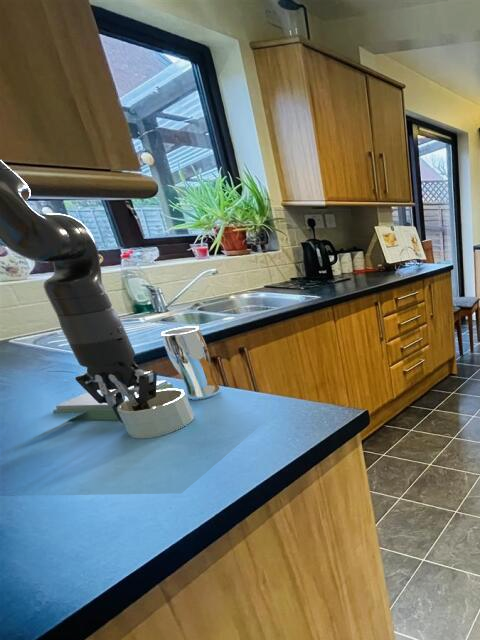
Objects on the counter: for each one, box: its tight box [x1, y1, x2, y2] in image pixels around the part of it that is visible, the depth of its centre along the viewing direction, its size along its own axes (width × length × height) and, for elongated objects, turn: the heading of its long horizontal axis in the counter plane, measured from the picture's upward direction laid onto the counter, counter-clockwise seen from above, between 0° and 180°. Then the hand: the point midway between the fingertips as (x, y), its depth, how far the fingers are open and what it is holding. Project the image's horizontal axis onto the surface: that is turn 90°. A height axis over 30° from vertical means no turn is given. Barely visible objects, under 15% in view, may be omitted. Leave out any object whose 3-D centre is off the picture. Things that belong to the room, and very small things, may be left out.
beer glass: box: [160, 326, 221, 401], centre depth 88 cm, size 7×7×15 cm
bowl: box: [117, 388, 195, 439], centre depth 77 cm, size 10×10×6 cm
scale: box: [52, 380, 175, 422], centre depth 86 cm, size 14×13×3 cm
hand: (137, 420), depth 78 cm, fingers open, 3 cm apart
